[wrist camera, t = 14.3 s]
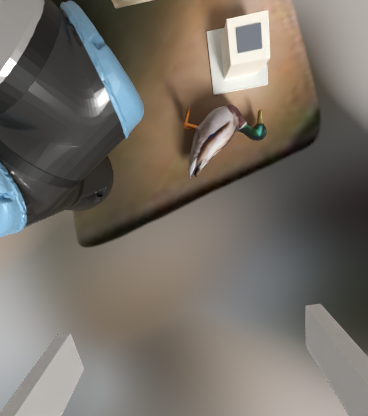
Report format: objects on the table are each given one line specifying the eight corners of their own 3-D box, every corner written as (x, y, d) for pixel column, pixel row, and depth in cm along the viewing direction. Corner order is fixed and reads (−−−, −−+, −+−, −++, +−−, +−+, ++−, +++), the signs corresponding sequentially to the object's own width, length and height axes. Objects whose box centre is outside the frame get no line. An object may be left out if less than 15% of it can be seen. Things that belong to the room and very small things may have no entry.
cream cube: (224, 80, 36) (231, 64, 30) (220, 42, 35) (226, 18, 29) (257, 73, 36) (270, 57, 30) (254, 34, 34) (268, 9, 28)
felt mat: (213, 95, 37) (213, 94, 37) (206, 32, 35) (206, 31, 34) (267, 85, 37) (268, 84, 36) (263, 20, 34) (264, 19, 34)
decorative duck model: (284, 108, 32) (253, 197, 35) (262, 118, 39) (238, 190, 42) (196, 78, 30) (171, 175, 33) (190, 94, 37) (170, 172, 40)
